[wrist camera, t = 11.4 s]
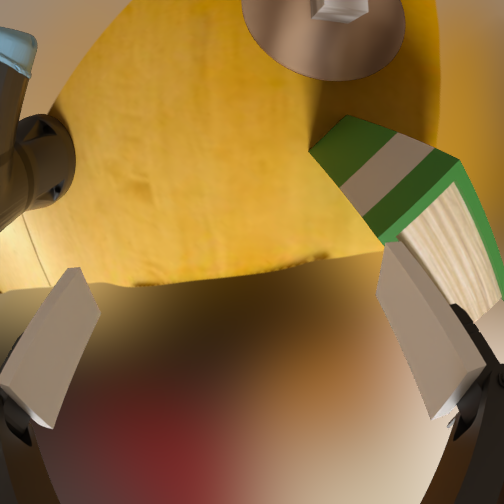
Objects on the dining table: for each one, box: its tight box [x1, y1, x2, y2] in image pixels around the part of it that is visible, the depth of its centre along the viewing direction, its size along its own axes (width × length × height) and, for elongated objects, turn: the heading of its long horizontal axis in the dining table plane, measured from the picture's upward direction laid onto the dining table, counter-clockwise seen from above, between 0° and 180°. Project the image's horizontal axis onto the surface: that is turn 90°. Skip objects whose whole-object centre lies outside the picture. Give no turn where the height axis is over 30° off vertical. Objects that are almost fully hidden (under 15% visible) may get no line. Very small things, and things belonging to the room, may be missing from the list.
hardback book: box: [308, 115, 504, 323], centre depth 29 cm, size 18×7×24 cm, turn 48°
